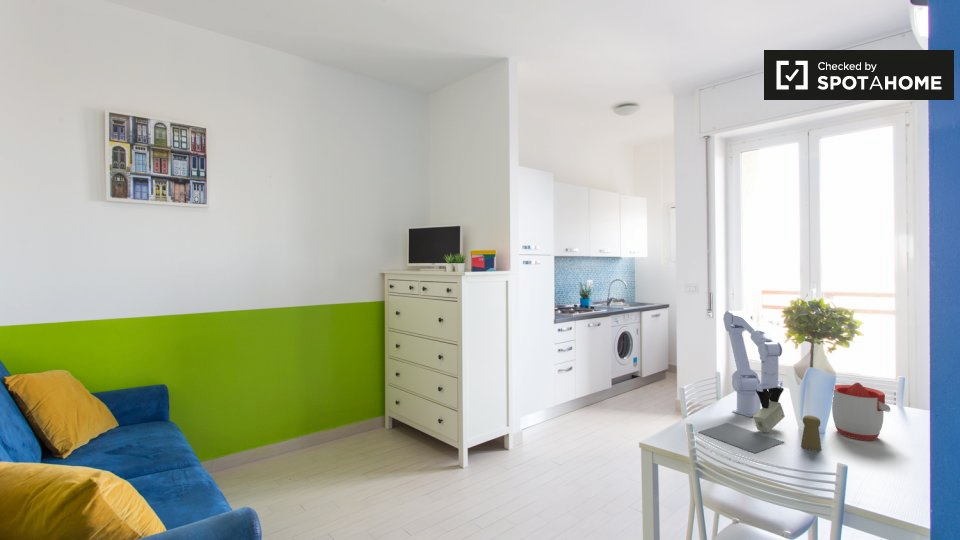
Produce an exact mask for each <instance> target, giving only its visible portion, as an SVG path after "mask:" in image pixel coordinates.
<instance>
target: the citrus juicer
mask: <svg viewBox="0 0 960 540" xmlns="http://www.w3.org/2000/svg"><path fill="white" fill-rule="evenodd" d="M834 386H835V390H834V397H833V402H831V405H832V407H831V409H832V410H831V413H832V419H833V422H834V426H835V429H836V430H837V433H839V434H840V435H842V436H846V437H847V438H852V439H856V440H860V439H861V440H860V441H864V440H867V441H874V440H876V439H877V438H878V437H879V435H880V433H881V431H882V427H883V424H884V412H887V413H890V412H891V408H890V407H891V406H890V405H888V404H887V403H886V402H885V401H886V393H884V392H883V391H880V390H879V389H875V388H871V387H866V386H863V385H862V384H861V383H859V382H855V383H853V384H836V385H834Z"/></svg>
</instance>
